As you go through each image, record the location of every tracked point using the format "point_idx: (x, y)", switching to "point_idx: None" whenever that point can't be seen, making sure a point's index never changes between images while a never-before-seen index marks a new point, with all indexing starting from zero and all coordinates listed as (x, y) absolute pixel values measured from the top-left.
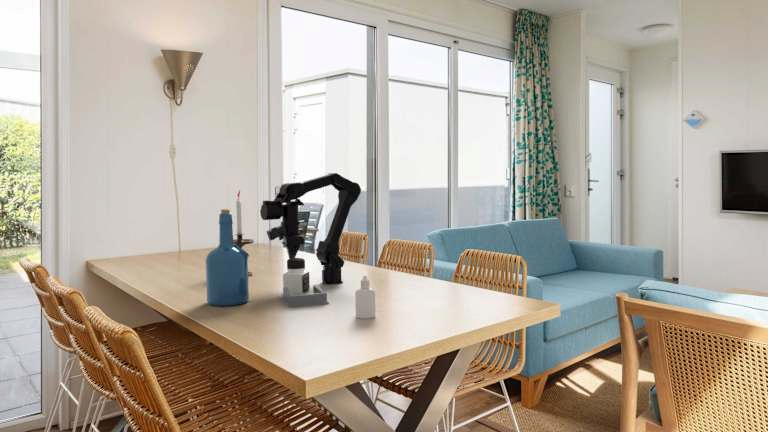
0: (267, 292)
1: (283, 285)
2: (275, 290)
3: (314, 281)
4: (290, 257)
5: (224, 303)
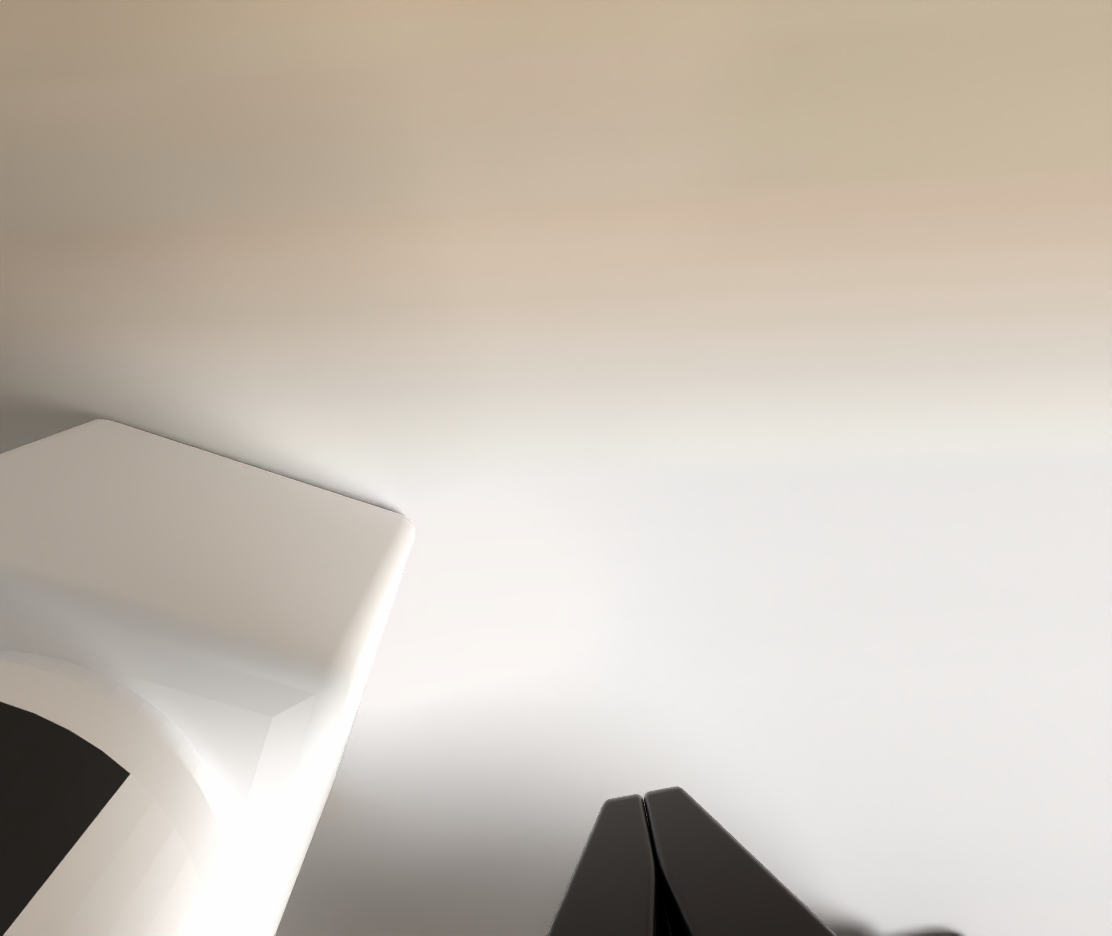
0: (304, 130)
1: (3, 454)
2: (456, 266)
3: (1029, 835)
4: (558, 933)
5: None
